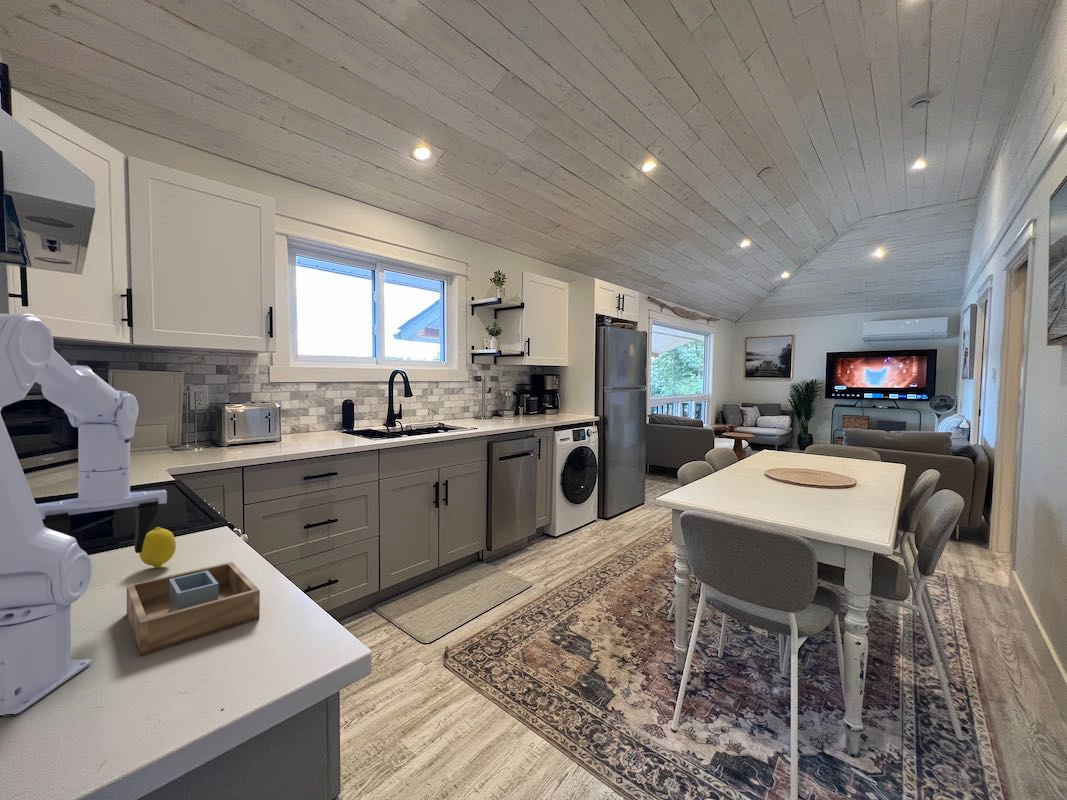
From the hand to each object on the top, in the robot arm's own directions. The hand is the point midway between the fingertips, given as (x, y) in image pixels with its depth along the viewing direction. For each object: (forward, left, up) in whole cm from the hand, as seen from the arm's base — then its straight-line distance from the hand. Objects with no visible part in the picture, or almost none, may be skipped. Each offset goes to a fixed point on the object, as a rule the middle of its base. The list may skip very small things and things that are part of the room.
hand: (104, 557), depth 69 cm
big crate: (0, -13, -9) cm, 16 cm away
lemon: (+20, +6, -10) cm, 23 cm away
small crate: (0, -13, -9) cm, 16 cm away
